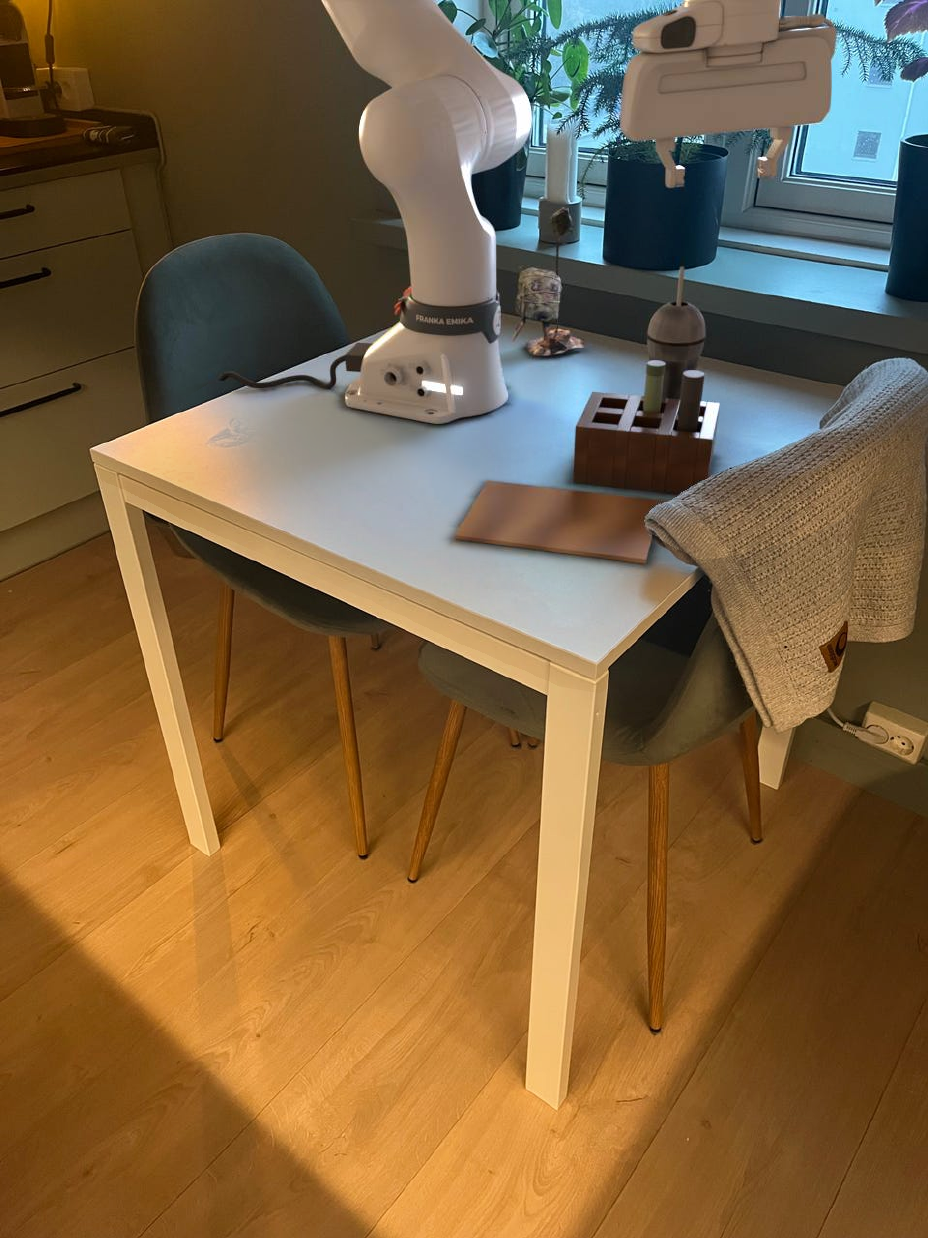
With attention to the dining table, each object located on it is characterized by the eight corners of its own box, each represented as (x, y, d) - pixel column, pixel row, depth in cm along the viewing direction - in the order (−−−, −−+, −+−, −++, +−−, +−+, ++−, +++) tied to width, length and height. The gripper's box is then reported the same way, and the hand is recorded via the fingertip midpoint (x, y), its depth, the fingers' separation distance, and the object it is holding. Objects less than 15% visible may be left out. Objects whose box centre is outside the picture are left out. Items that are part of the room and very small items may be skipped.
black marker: (669, 485, 110) (681, 376, 102) (671, 477, 111) (683, 369, 104) (689, 488, 109) (703, 378, 102) (691, 479, 111) (705, 370, 103)
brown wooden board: (454, 539, 101) (454, 535, 101) (487, 484, 111) (487, 480, 111) (645, 564, 96) (645, 559, 96) (661, 504, 106) (661, 500, 106)
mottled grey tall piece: (508, 341, 151) (509, 206, 139) (580, 338, 151) (586, 203, 140) (513, 359, 144) (514, 219, 133) (588, 356, 144) (595, 216, 133)
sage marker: (636, 464, 114) (645, 365, 107) (639, 457, 116) (647, 358, 109) (654, 466, 114) (664, 367, 107) (656, 458, 115) (666, 360, 108)
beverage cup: (699, 415, 126) (719, 258, 114) (691, 438, 120) (711, 274, 108) (643, 409, 128) (657, 254, 116) (633, 431, 122) (647, 270, 110)
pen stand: (572, 482, 111) (575, 426, 107) (589, 445, 119) (592, 391, 115) (705, 497, 107) (712, 439, 103) (712, 457, 115) (720, 402, 111)
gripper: (824, 11, 93) (808, 167, 100) (616, 30, 92) (615, 186, 99) (853, 11, 87) (833, 176, 95) (632, 32, 87) (630, 196, 94)
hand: (720, 181), depth 97 cm, fingers open, 8 cm apart
